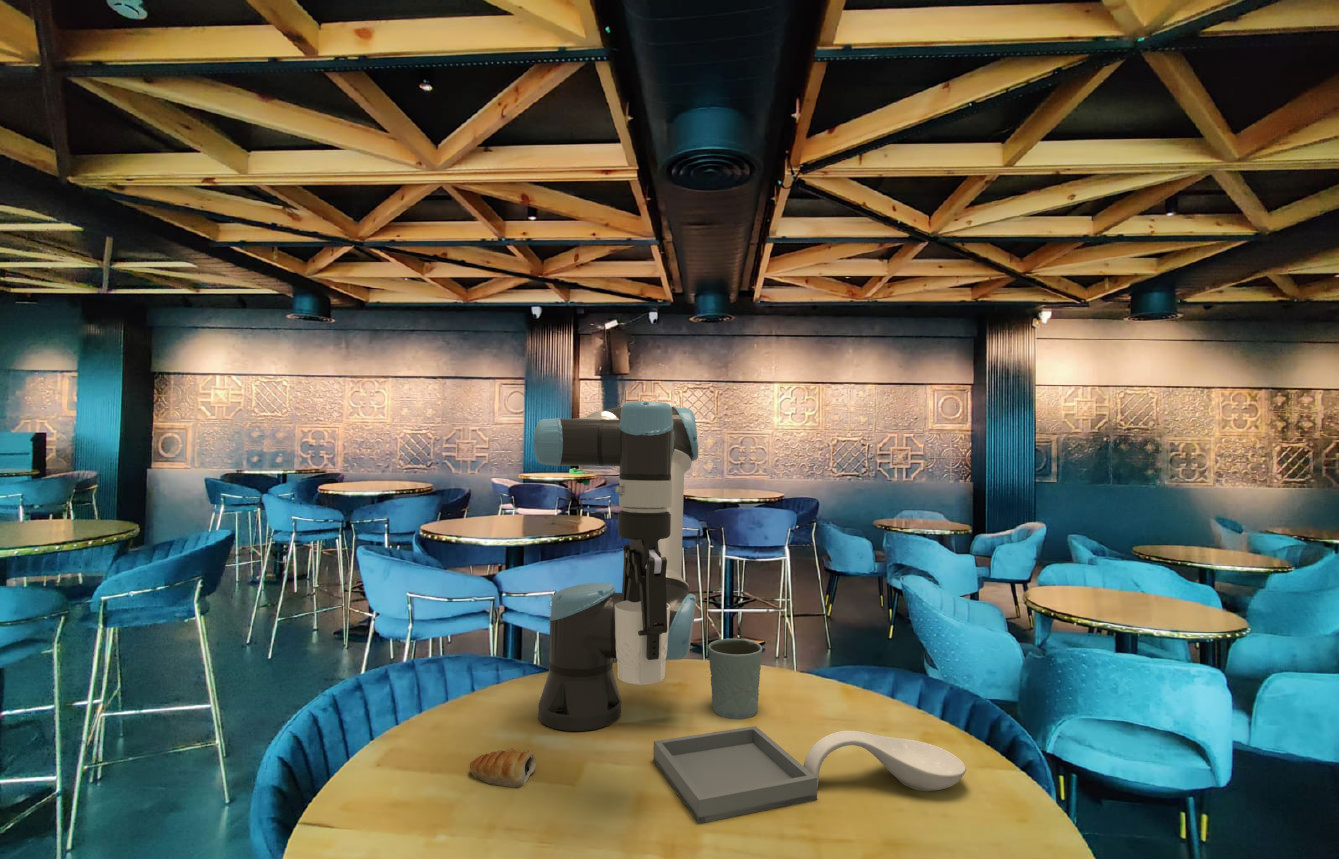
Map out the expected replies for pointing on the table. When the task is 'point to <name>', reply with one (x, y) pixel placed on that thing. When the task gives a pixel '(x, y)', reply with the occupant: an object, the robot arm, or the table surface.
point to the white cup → (633, 641)
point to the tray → (732, 773)
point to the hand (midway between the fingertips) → (641, 671)
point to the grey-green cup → (735, 677)
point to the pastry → (504, 767)
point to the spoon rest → (895, 759)
